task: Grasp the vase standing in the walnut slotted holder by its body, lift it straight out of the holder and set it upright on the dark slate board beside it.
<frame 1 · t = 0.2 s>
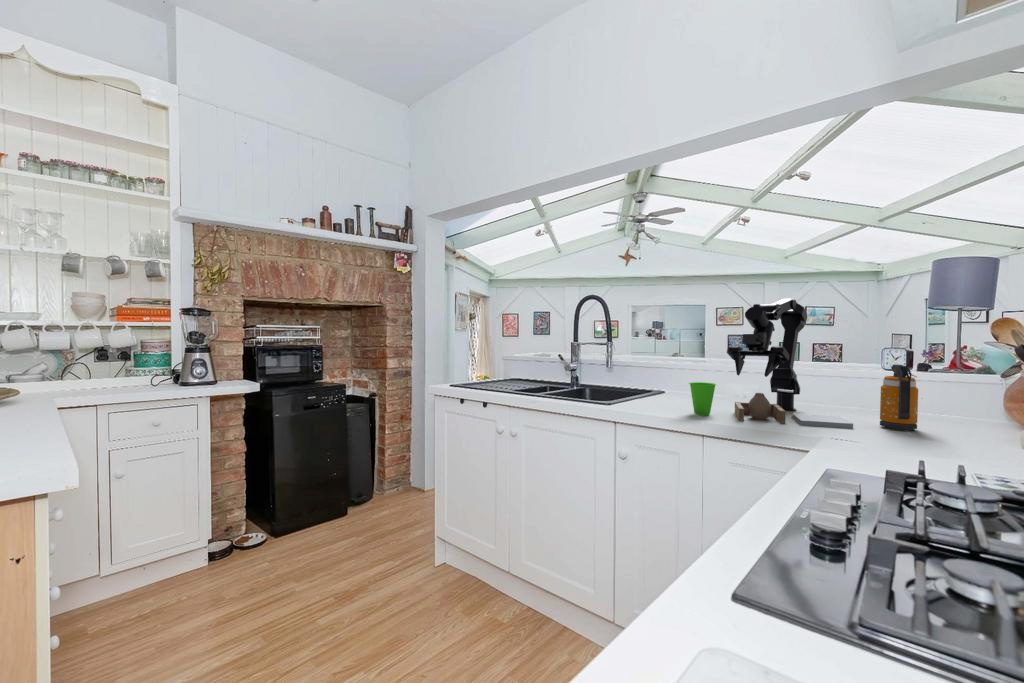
hand: (751, 375, 160), 15 cm above the worktop, tool tilted 30°, fingers open, 9 cm apart
holder: (759, 418, 161), on the worktop
board: (820, 422, 155), on the worktop
vase: (759, 419, 161), on the worktop
canister: (899, 429, 145), on the worktop
cup: (702, 414, 169), on the worktop
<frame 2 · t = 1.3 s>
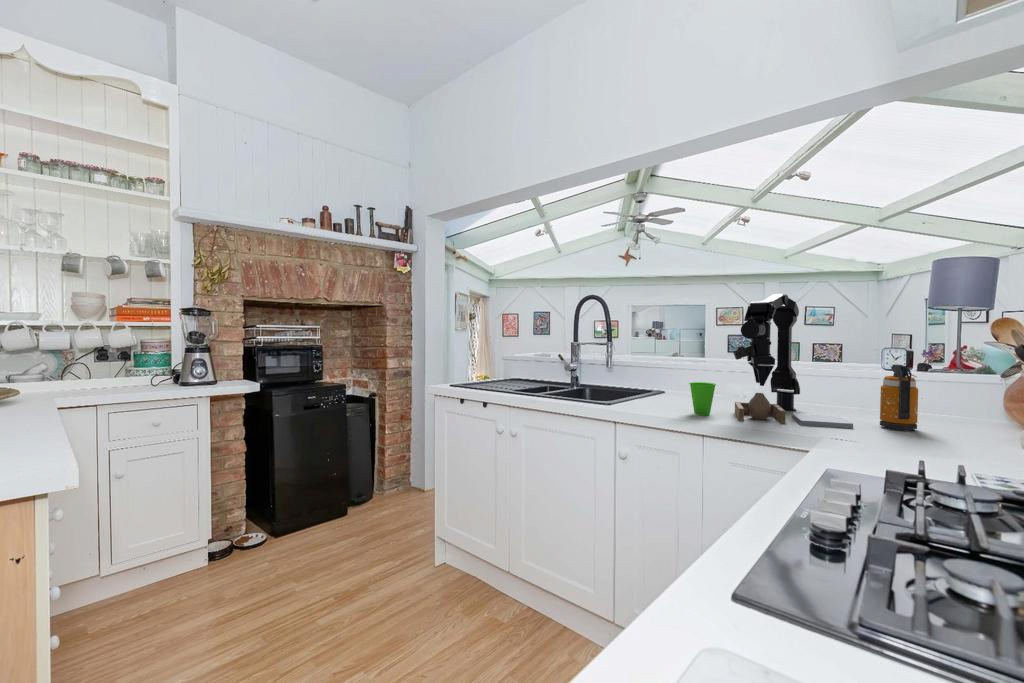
hand: (759, 384, 161), 12 cm above the worktop, tool pointing down, fingers open, 9 cm apart
nothing on the worktop moved.
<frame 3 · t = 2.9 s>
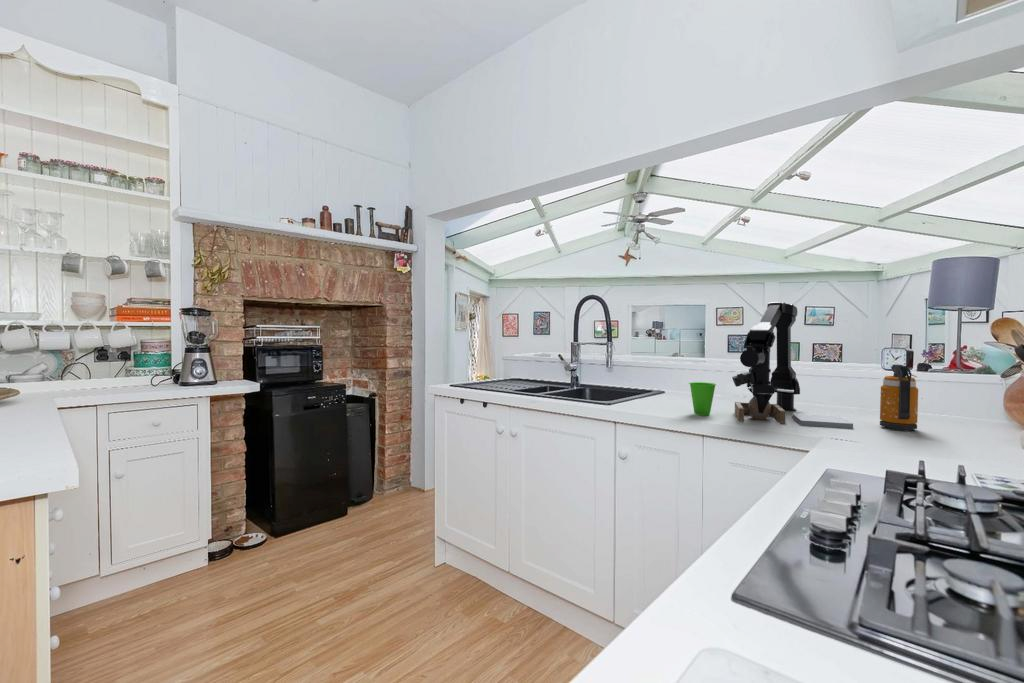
hand: (759, 411, 161), 3 cm above the worktop, tool pointing down, fingers closed on vase, 7 cm apart
vase: (759, 419, 161), on the worktop, touching gripper
everything else where it was.
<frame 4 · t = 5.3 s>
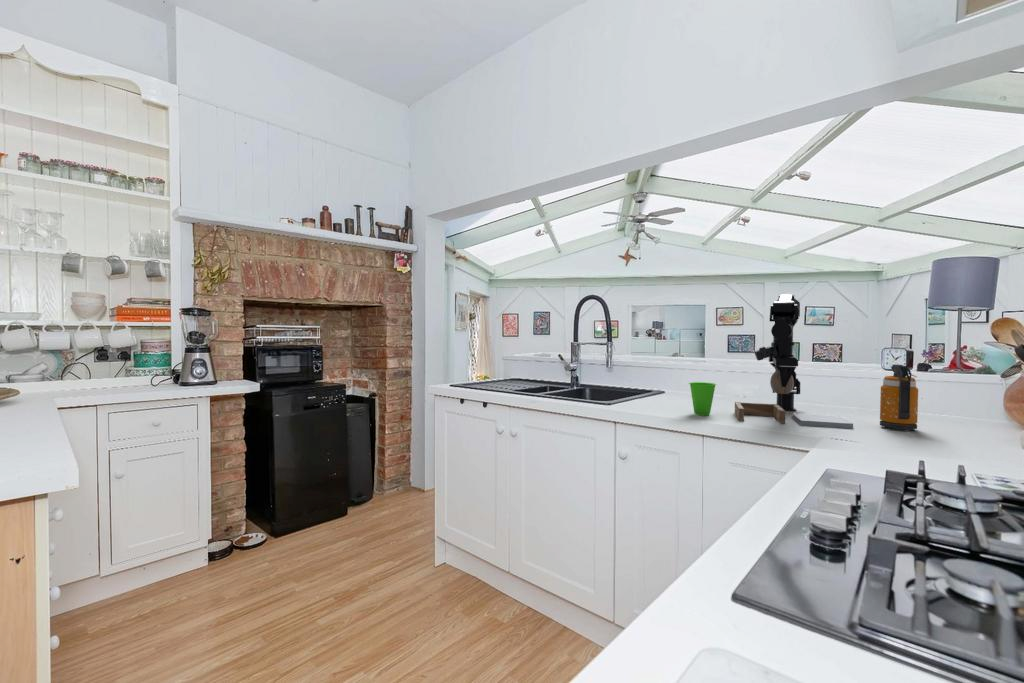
hand: (782, 385, 159), 12 cm above the worktop, tool pointing down, fingers closed on vase, 7 cm apart
vase: (781, 393, 159), point 9 cm above the worktop, touching gripper
everything else where it was.
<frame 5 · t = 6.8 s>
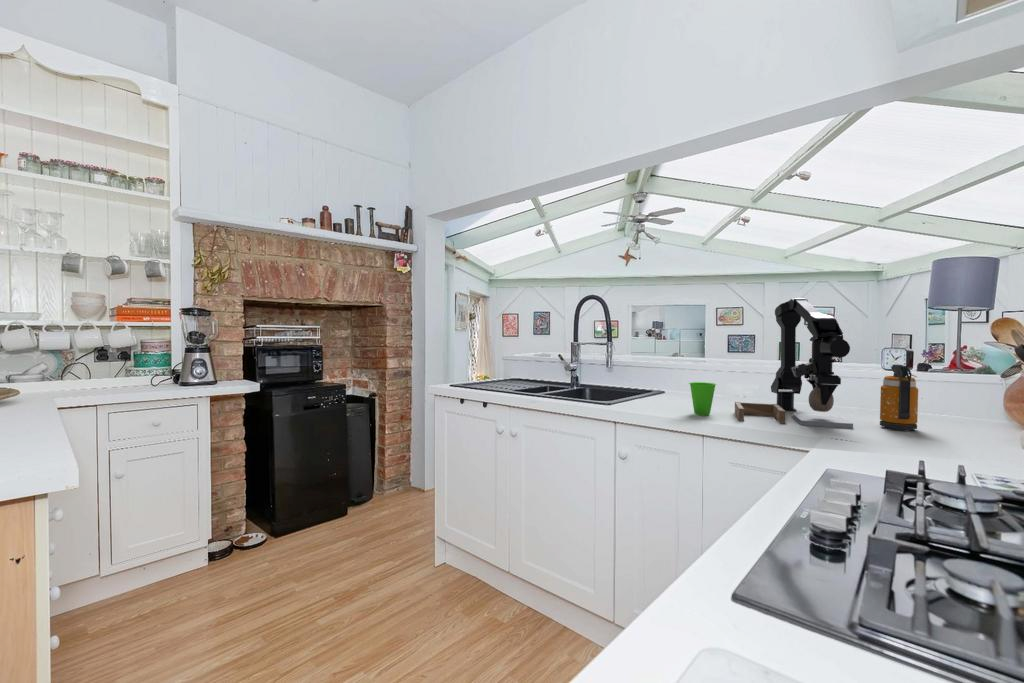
hand: (820, 403, 155), 6 cm above the worktop, tool pointing down, fingers closed on vase, 7 cm apart
vase: (820, 411, 155), point 4 cm above the worktop, touching gripper
everything else where it was.
when the fingers open (5 cm above the worktop, at t = 8.0 s): vase stays where it is, resting on board.
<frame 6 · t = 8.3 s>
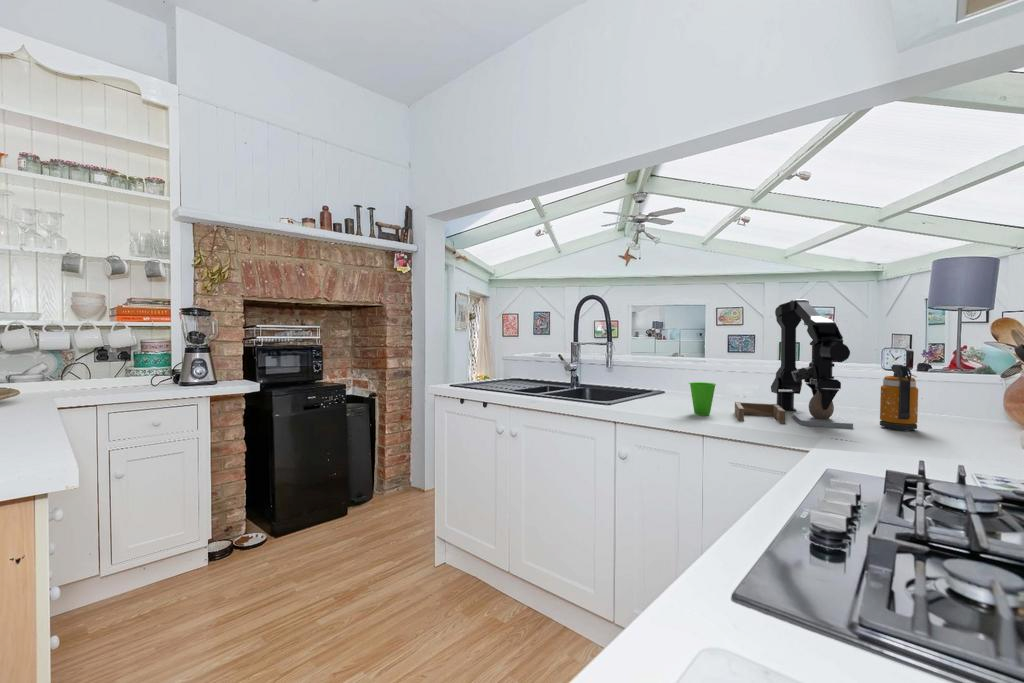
hand: (820, 407, 155), 5 cm above the worktop, tool pointing down, fingers open, 9 cm apart
vase: (820, 418, 155), point 1 cm above the worktop, touching board
everything else where it was.
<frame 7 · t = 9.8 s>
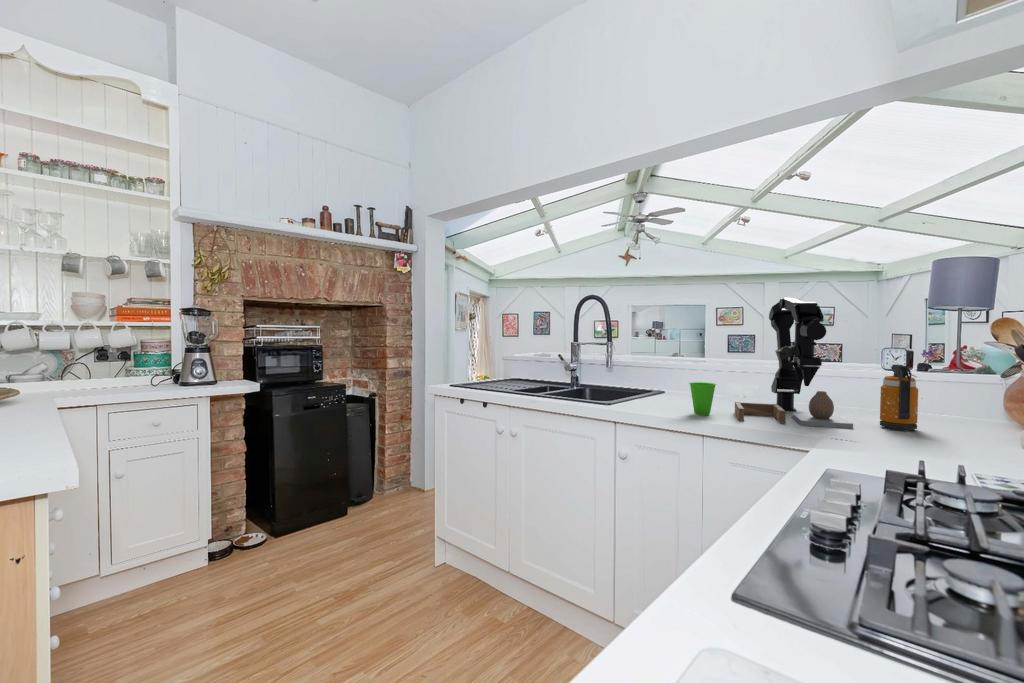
hand: (803, 384, 162), 12 cm above the worktop, tool pointing down, fingers open, 9 cm apart
nothing on the worktop moved.
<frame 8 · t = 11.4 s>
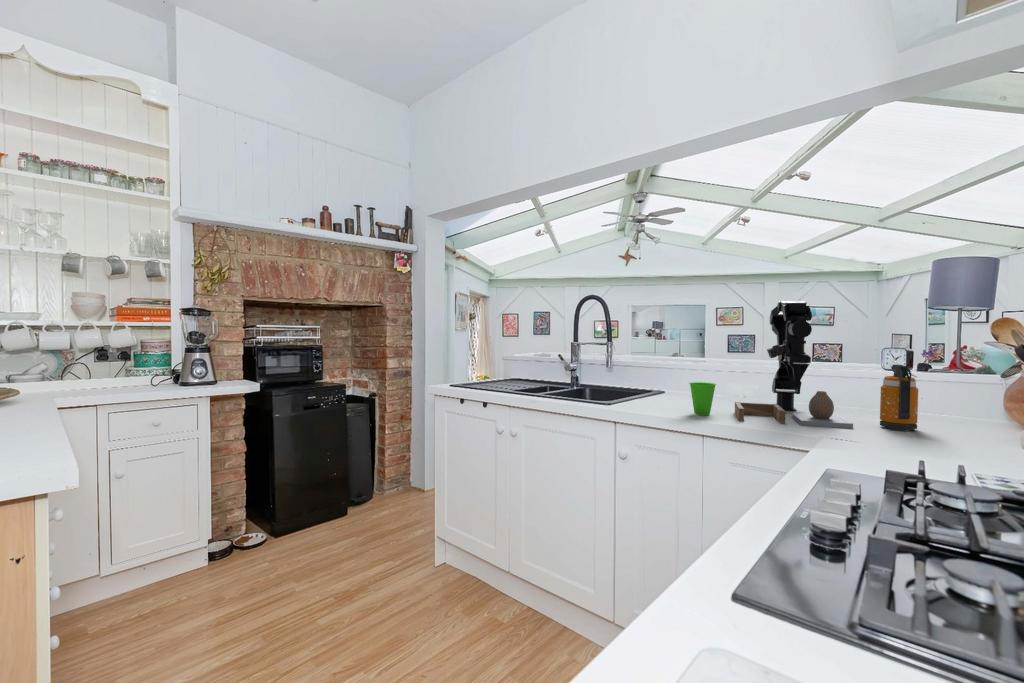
hand: (794, 382, 166), 12 cm above the worktop, tool pointing down, fingers open, 9 cm apart
nothing on the worktop moved.
at the end: vase inside the target area (0.1 cm from its centre), point 1.3 cm above the worktop; vase tilted 0°; the gripper is holding nothing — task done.
